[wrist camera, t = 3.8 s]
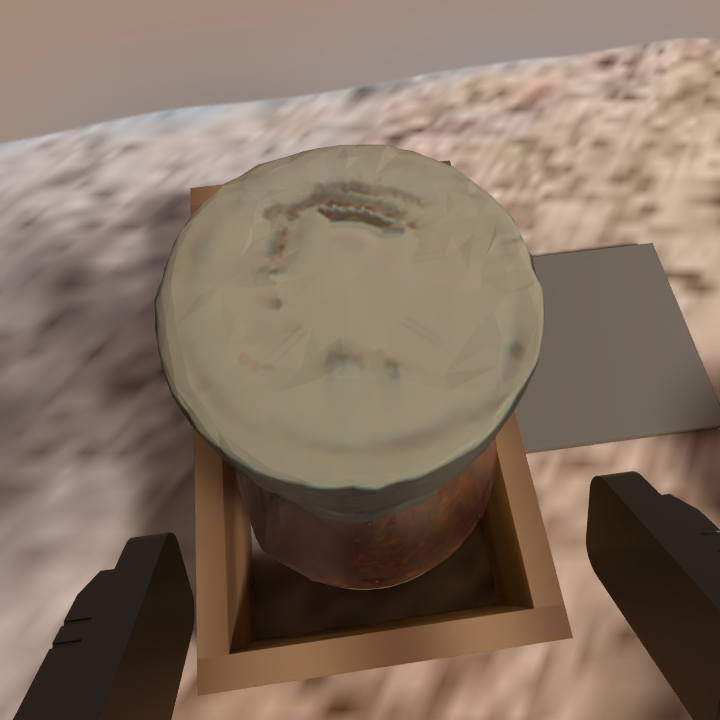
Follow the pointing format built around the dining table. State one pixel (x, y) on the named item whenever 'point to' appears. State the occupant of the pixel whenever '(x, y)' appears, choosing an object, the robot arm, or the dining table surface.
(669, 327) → the coaster
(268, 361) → the sauce bottle
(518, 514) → the caddy
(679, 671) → the robot arm
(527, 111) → the dining table surface
